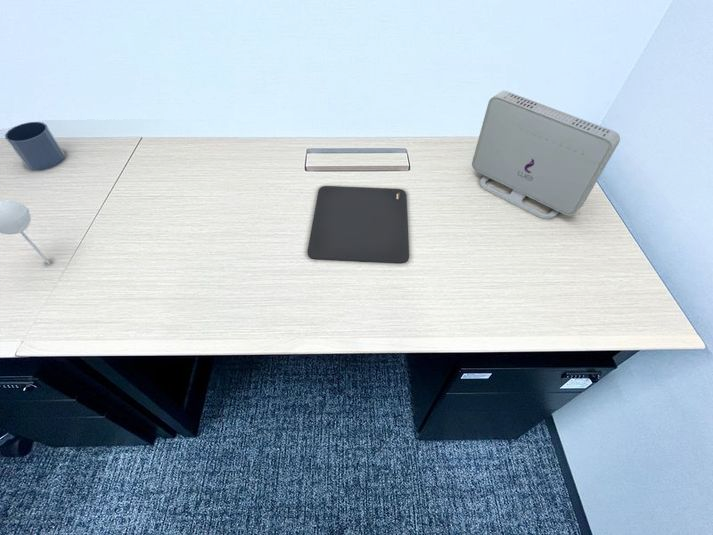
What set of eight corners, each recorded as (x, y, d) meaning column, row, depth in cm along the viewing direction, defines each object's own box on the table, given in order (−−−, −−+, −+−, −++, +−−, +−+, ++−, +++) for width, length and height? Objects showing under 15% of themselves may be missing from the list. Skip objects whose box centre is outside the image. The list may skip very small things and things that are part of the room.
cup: (27, 174, 95) (5, 145, 89) (26, 156, 100) (5, 127, 94) (66, 164, 98) (48, 135, 92) (63, 147, 103) (45, 118, 97)
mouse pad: (409, 263, 78) (409, 262, 78) (306, 259, 79) (306, 257, 78) (405, 190, 93) (406, 189, 93) (319, 186, 93) (319, 185, 93)
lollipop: (66, 248, 80) (19, 188, 68) (67, 268, 76) (17, 209, 65) (31, 258, 78) (-24, 198, 67) (30, 279, 75) (-28, 220, 63)
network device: (463, 178, 96) (484, 98, 81) (482, 163, 100) (506, 84, 85) (564, 230, 85) (611, 147, 70) (581, 210, 89) (629, 128, 74)
